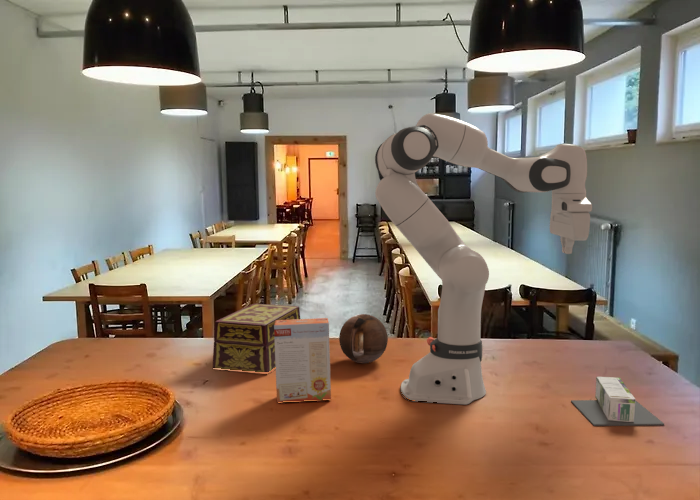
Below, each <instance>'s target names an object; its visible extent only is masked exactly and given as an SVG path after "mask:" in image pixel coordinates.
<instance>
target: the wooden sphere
mask: <svg viewBox="0 0 700 500" xmlns="http://www.w3.org/2000/svg"><path fill="white" fill-rule="evenodd" d="M338 339H339V341H338V342H339V346H340V349H341V351H342V352H343V354H344V355H345V357H347V358H348V359H349V360H350V361H353V362H355V363H357V364H358V363H359V364H369V362H370V363H373V362H374V361H376V360H378V359H379V358H380V357H382V356H383V355H384V353H385V351H386V349H387V346H388V342H389V340H388V339H389V337H388V332H387V329H386V327H385V325H384V323H383V322H382V321H381V319H379V318H378V317H376V316H373V315H371V314H367V313H361V314H360V313H359V314H356V315H353V316H351V317H350V318H348V319H347V320H346V321H345V322H344V323H343V325H342V327H341V329H340V332H339V337H338Z"/></svg>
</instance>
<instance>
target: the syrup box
mask: <svg viewBox="0 0 700 500" xmlns="http://www.w3.org/2000/svg"><path fill="white" fill-rule="evenodd" d="M595 400H597V401H598V403H599V405H600V406H601V408H602V410H603V412H604V414H605V415H606V417H607V419H608V420H612V421H624V422H634V412H635V400H636V397H634V395H633V394H632V392H631V391H630V390H629V388H628V387H627V386H626V384H625V382H624V381H623V380H622V378H621V377H612V376H611V377H610V376H596V378H595Z"/></svg>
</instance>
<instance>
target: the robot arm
mask: <svg viewBox="0 0 700 500" xmlns="http://www.w3.org/2000/svg"><path fill="white" fill-rule="evenodd" d="M488 144H489V143H488V137H487V135H486V133H485V132H484V131H483V130H482V129H480V128H478V127H476V126H475V125H473V124H471V123H468V122H466V121H464V120H461V119H459V118H456V117H453V116H449V115H445V114H439V113H435V112H434V113H433V112H429V113H426V114H424V115H423V116H421V117H420V119H419V120H417V123H416V125H415V126H408V127H404V128H402V129H400V130H398V131H397V132H396V133H393V134H392V135H390V136H388V137H387V138H386V139H385V140H384V141H383V142H382V143H381V144H379V146H378V148H377V150H376V152H375V156H374V164H375V168H376V169H377V173H378V178H379V180H380V181H379V182H378V184H377V186H376V188H375V197H376V198H375V199H376V200H377V202H378V203H379V206H380V207H381V208H382V210H383V211H384V213H385V215H386V216H387V217H388V219H389V220H390V221H391V222H392V223H393V225H394V226H395V227H396V228H397V229H398V231H399V232H400V233H401V234H402V235H403V236H404V238H406V240H407V241H408V242H409V244H411V246H412V247H413V248H414V249H415V250H416V252H417V253H418V254H419V255H420V256H421V257H422V259H423V261H425V263H426V264H427V265H428V266H429V267H430V268H431V270H432V271H433V272H434V273H435V275H436V276H437V277H438V278H439V279H440V280H441V281H442V282H441V283H442V284H441V295H440V301H439V307H438V309H437V337H436V338H435V339H434V337H432V336H429V337H427V339H426V343H427V345H428V346H429V350H430V352H428V353H427V354H425V355H424V356H422V357H421V358H420V359H419V360H417V361H416V362H414V363H413V364H412V366H411V368H410V371H409V375H408V378H405V379H404V380H403V381H402V382H401V384H400V393H401V392H402V393H401V395H402V394H403V395H404V396H405V397H406V398H408V399H410V400H415V401H414V402H418V401H427V402H426V403H433V402H437V403H436V404H451V405H452V404H453V405H465V406H466V405H469V404H470V403H472V402H474V401H475V400H478V399H481V398H482V397H484V396H485V395H486V394H487V389H486V387H485V383H484V379H483V372H482V360H483V359H482V358H483V341H482V339H481V325H482V324H481V322H482V321H481V320H482V319H481V318H482V307H483V302H484V301H483V300H484V296H485V291H486V285H487V283H488V280H489V278H490V269H489V266H488V264H487V262H486V260H485V258H484V257H483V256H482V255H481V254H480V253H479V252H477V251H476V250H473V249H471V248H470V247H469V246H468V245H466V243H465V242H464V241H463V240H462V238H461V237H460V235H458V233H457V232H456V230H455V229H454V227H453V226H452V225H451V224H450V222H449V220H448V219H447V217H445V215H444V214H443V213H442V212H441V211H440V210H439V208H438V207H437V206H436V205H435V203H434V202H433V201H432V200H431V199H430V197H428V195H427V194H426V192H424V191H423V190H422V189H421V187H420V186H419V184H418V182H417V179H416V172H418V171H420V170H421V169H423V168H425V167H426V166H427V165H428V163H429V162H430V161H431V160H432V158H433V157H434V158H438V159H440V160H443V161H445V162H448V163H451V164H454V165H458V166H461V167H466V168H474V169H478V170H480V171H484V172H485V173H488V174H491V175H493V176H495V177H498V178H499V179H501V180H502V181H503V182H504V183H506V185H507V186H508V187H509V188H510V189H512V190H513V191H515V192H517V193H521V194H522V193H547V192H550V191H551V212H550V217H549V233H550V234H553V235H555V236H559V237H560V238H559V239H560V242H561V243H560V244H561V251H562V253H563V254H566V255H570V254H571V255H572V254H573V247H574V244H575V241H577V242H578V241H582V242H583V241H587V240H588V238H589V235H590V227H591V214H590V212H592V211H593V204H592V203H591V201H590V200H589V199H588V198H587V189H586V181H587V177H588V160H587V153H586V150H585V148H584V147H583V146H581V145H577V144H573V143H559V144H556V145H555V147H554V148H552V149H551V150H549V151H548V152H546V153H544V154H540V155H539V156H534V157H533V156H532V157H531V156H530V157H524V156H523V157H522V156H521V157H510V156H507V155H506V154H504V153H501V152H499V151H497V150H494V149H493V148H490V147H489V146H488ZM403 395H402V396H403ZM404 396H403V397H404ZM405 397H404V398H405ZM406 398H405V399H406Z"/></svg>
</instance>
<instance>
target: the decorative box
mask: <svg viewBox="0 0 700 500" xmlns="http://www.w3.org/2000/svg"><path fill="white" fill-rule="evenodd" d="M300 312H301V311H300V307H299V305H284V304H282V305H281V304H267V303H266V304H264V303H253V304H250V305H248V306H245V307H243V308H241V309H239V310H237V311H235V312H232V313H230V314H227V315H226V316H224V317H221V318H220V319H218V320H216V321H214V330H213V331H214V332H213V334H214V335H213V351H212V352H213V353H212V355H213V356H212V369H213V368H221V369H230V370H242V371H255V372H269V371H271V370H272V369H273V368H275V367H276V365H275V337H274V325H275V321H276V320H293V319H301V313H300Z"/></svg>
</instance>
